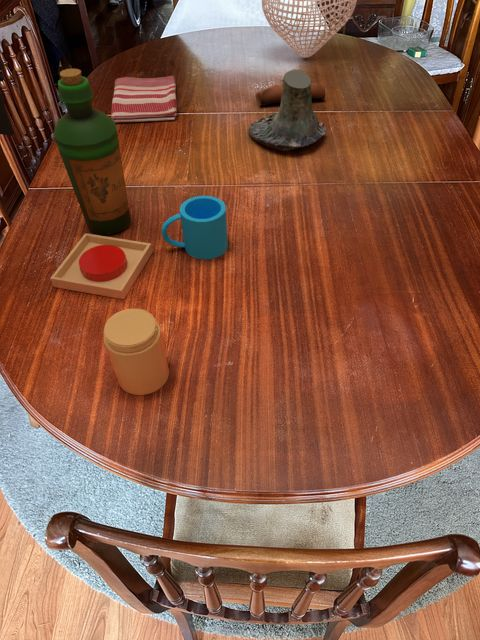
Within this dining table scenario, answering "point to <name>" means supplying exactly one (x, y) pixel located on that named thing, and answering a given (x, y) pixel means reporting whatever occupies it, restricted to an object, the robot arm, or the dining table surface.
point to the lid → (103, 263)
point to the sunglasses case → (275, 94)
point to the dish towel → (144, 99)
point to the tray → (116, 288)
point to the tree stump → (290, 117)
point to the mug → (201, 227)
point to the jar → (136, 351)
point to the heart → (320, 24)
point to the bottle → (91, 156)
